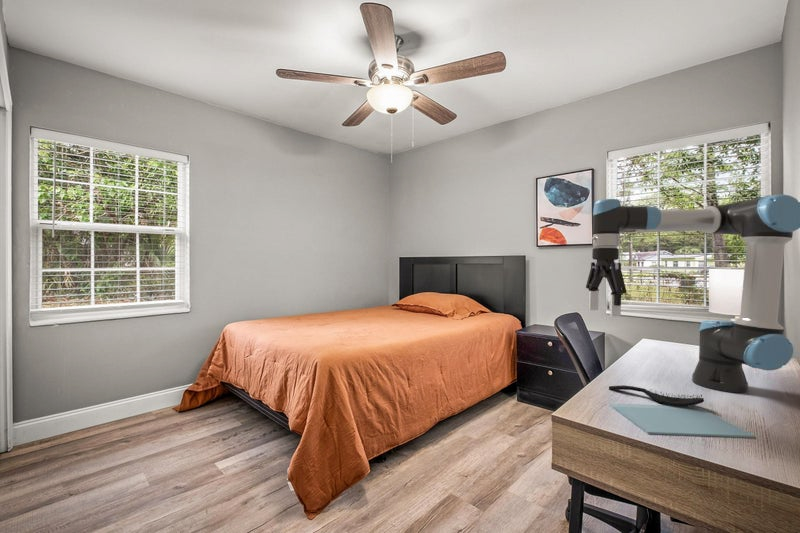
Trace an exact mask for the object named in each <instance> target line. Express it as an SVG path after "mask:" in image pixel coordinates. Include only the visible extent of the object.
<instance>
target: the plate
mask: <svg viewBox="0 0 800 533" xmlns="http://www.w3.org/2000/svg"><path fill="white" fill-rule="evenodd" d="M606 404H607V406H609V407H611V408H612V409H614V410H615V411H616V412H618V413H619V414H620V415H622V416H623V417H625V419H627V420H628V421H630V422H631V423H633V424H634V425H635V426H636V427H638V428H639V429H640V430H642V431H644V432H645V433H646V434H647V435H666V436H667V435H668V436H692V437H693V436H695V437H723V438H747V439H748V438H749V439H751V438H752V439H756V435H754V434H752V433H750V432H748V431H746V430H745V429H743V428H741V427H739V426H737V425H735V424H733V423H731V422H729V421H727V420H725V419H724V418H721V417H719V415H716V414H714V413H712V412H709V411H708V410H706V409H703V408H700V407H698V406H696V405H691V406H671V405H666V404H642V403H641V404H640V403H614V402H612V403H607V402H606Z"/></svg>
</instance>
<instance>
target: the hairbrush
mask: <svg viewBox="0 0 800 533" xmlns="http://www.w3.org/2000/svg"><path fill="white" fill-rule="evenodd" d="M608 390H611V391H612V390H614V391H615V390H617V391H618V390H620V391H621V390H623V391H635V392H640V393H643V394H645V395H646V396H647V397H649V398H651V399H652V400H654V401H656V402H658V403H660V404H662V405H671V406H696V405H699V404H702V403H704V402H705V400H704V397H703V395H702V394H700V395H698V394H696V395H695V394H693V395H689V394H688V395H686V394H677V396H674V393H671V396H669V394H668V392H662V391H660V394H659V393H658V392H657V390H655V391H652V390H651V389H649V390H648V389H646V388H642V387H638V386H633V385H626V384H625V385H621V384H620V385H610V386H608Z"/></svg>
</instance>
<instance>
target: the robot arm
mask: <svg viewBox="0 0 800 533" xmlns="http://www.w3.org/2000/svg"><path fill="white" fill-rule="evenodd" d="M593 204H594V205H593V210H592V217H593V218H592V219H593V222H592V223H593V224H592V225H593V226H592V228H593V229H592V237H591V240H592V247H594V248H592V256H591V257H592V259H593V260H594V261H593V262H590V270H589V274H588V277H587V281H586V286H585V289H588V291H589V292H588V293H589V299H588V303H589V304H588V305H589V306H588V310H589V311H599V296H600V295H599V291H600V289H599V287H600V285H601V283H602V281H603V278H605V279H606V280H607V282H608V285H609V287H610V290H611V292H610V312H609V313H610V314H609V316H610V317H621V313H622V312H621V311H622V296H623V294H627V288H626V284H625V280H624V277H623V273H622V264H621V262H615V261H617V260H619V256H620V249H619V248H618V247H620V233H654V232H655V233H656V232H661V233H662V232H694V231H695V232H704V233H705V234H718V235H719V234H720V235H721V234H724V235H735V236H740V240H741V241H743V243H745V244H746V250H745V261H744V271H743V283H742V293H741V302H740V304H741V305H740V314H739V317H738V318H737V319H736V320H734V321H731V320H704V321H702V322H700V326H699V327H700V328H699V330H698V331H699V347H698V349H699V351H698V354H699V355H698V362H697V364H696V366H695V369H694V372H693V373H692V375H691V376H692V379H691V382H693V383H694V384H696V385H699V386H701V387H704V388H707V389H711V390H717V391H721V392H726V393H728V392H729V393H740V394H741V393H748V392H749V383H748V380H747V377H746V374H745V372H744V369H743V365H746V366H749V368H753V369H758V370H762V371H770V372H771V371H777V370H779V369H781V368H783V366H786V365H788V364H789V362H790V361H791V359H792V357H793V355H794V346H793V343H792V342H791V341H790V339H789V338H788V337H786V336H784V329H785V327H783V325H781V324H780V323H779V320H778V319H779V311H780V310H779V308H780V298H781V297H780V296H781V289H782V288H781V287H782V278H783V277H782V276H783V266H784V265H783V264H784V254H785V246H786V244H788V243H789V242H790V241H792V240H793V235H794V234H793V233H794V232H795V231H797V230H799V229H800V201H798V198H796V197H794V196H792V195H788V194H774V195H773V194H772V195H770V194H769V195H764V196H760V197H756V198H751V199H750V198H749V199H746V200H740V201H735V202H731V203H727V204H726V203H725V204H722V205H709V206H706V207H705V208H701V209H700V208H699V209H666V210H665V209H662V210H660V209H659V208H658V207H656V206H649V205H645V206H643V205H642V206H641V205H640V206H638V205H636V206H632V205H631V206H629V205H628V206H624V205H622V204H621V200H619V199H618V198H605V199H604V198H603V199H599V200H596V201H595V202H594V203H593ZM595 260H596V261H595Z"/></svg>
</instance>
